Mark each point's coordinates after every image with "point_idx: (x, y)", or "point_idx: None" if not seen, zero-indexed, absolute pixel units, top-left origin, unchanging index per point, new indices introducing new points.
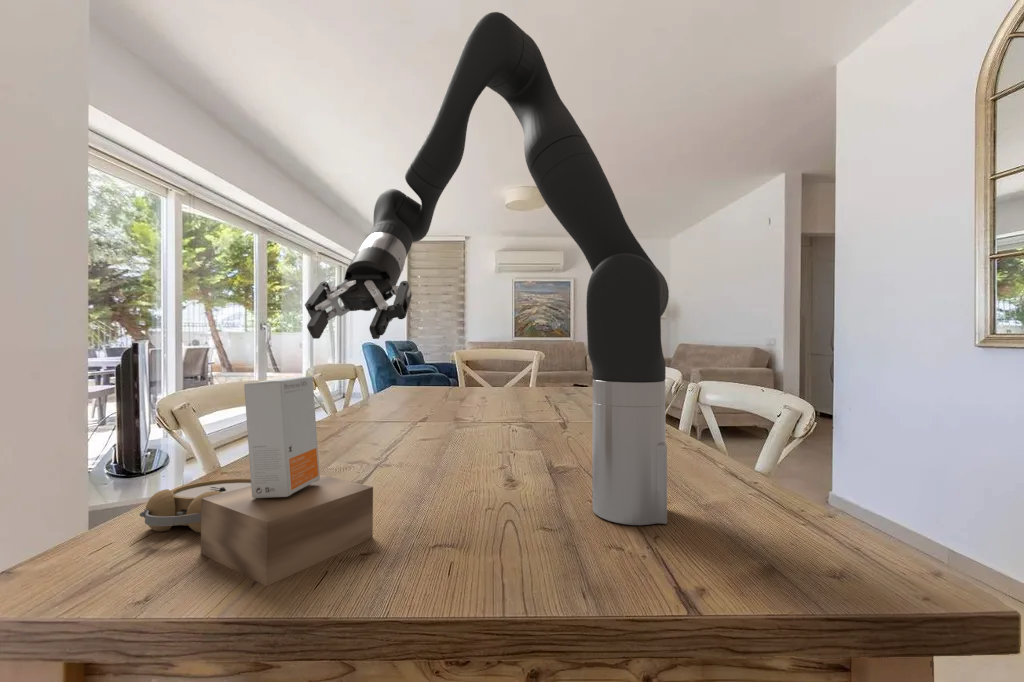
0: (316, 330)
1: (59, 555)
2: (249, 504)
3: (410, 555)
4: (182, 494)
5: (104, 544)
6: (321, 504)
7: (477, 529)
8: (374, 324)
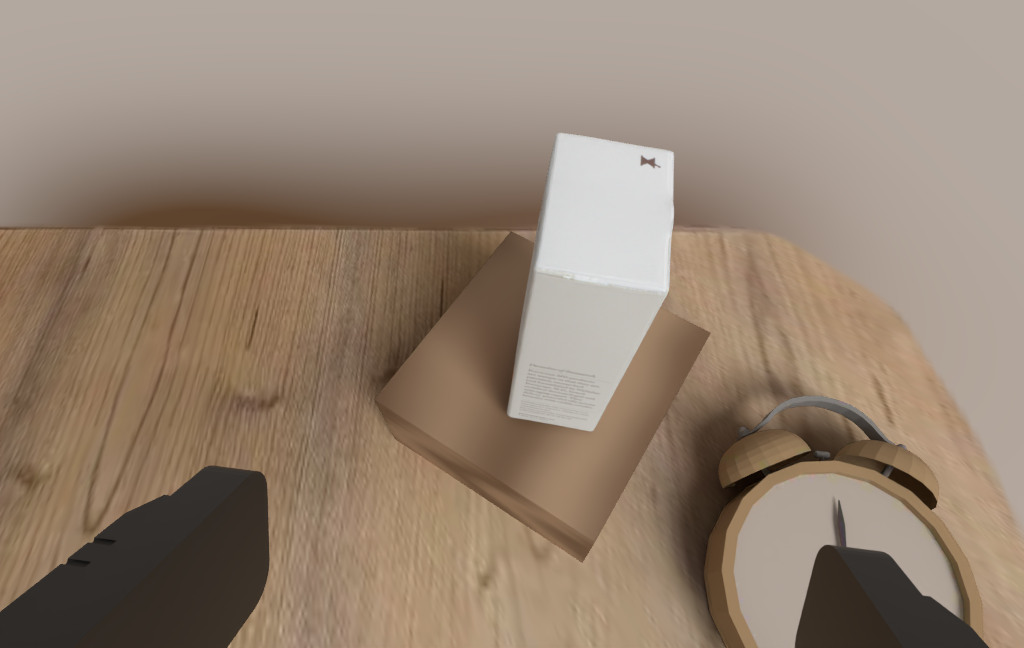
0: (823, 610)
1: (923, 375)
2: None
3: (316, 368)
4: (916, 543)
5: (897, 416)
6: (454, 302)
7: (177, 476)
8: (198, 479)
